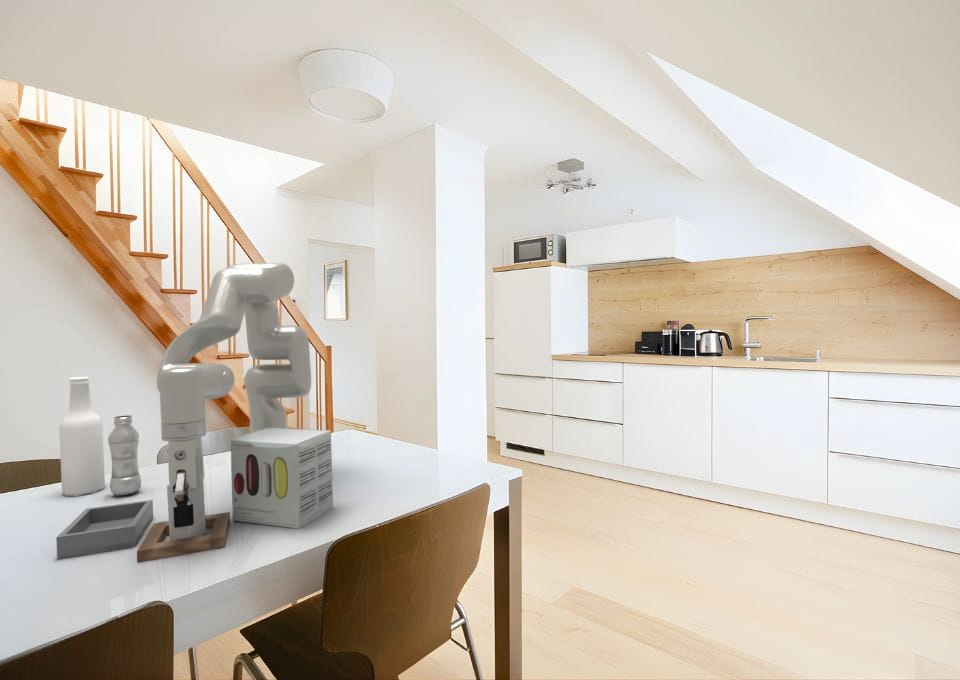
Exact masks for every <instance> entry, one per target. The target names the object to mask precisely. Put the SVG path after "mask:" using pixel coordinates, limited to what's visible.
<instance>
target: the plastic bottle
mask: <svg viewBox="0 0 960 680" xmlns="http://www.w3.org/2000/svg"><path fill="white" fill-rule="evenodd" d="M113 417H114V418H113V425H114V427H113V428H112V430H111V431H110V433H109V435H108V436H107V437H108V438H107V442H108V443H107V444H108V446H109V451H110V457H111V475H110V476H111V478H110V483H109V489H110V492H111V494H113V496H128V495H132V494H134V493H137V492H139V491H140V489H141V487H142V477H141V475H140V470H139V464H138V463H139V462H138V449H139V438H140V434H139V432H138V430H136V429H135V427H134V426H132V423H133V420H132V419H133V418H132V415H117V416H113Z"/></svg>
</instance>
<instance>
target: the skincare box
mask: <svg viewBox="0 0 960 680" xmlns="http://www.w3.org/2000/svg"><path fill="white" fill-rule="evenodd" d="M185 478H186V477H185ZM204 487H205V486H204V481H203V482H202V484H201V486H200V487H199V488H198V489H197V490H195V488H193V489H192V499H191V504H193V512H194V524H193V525H192V526H185V527H179V528H175V527H174V510H173V507H174V493H173V492H171V491H170V486H169V484H168V485H166V495H167V512H168V513H167V515H168V521H169V535H168V536H169V541H172V540H178V539H184V538H191V537H197V536H203V535H205V533H206V532H207V529H206V524H205V516H206V509H205V506H206V505H205V488H204ZM173 488H175V485H174V486H173ZM187 488H189V484H187V485H185V486H184V489H187ZM174 491H175V490H174ZM184 494H186V495H187V496H188V492H187V493H184ZM187 499H188V498H187Z"/></svg>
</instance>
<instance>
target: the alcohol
mask: <svg viewBox="0 0 960 680" xmlns="http://www.w3.org/2000/svg"><path fill="white" fill-rule="evenodd" d="M89 379H90V377H89V376H74V377H70V378H69V379H68V380H69V385H70V387H69V400H68V401H69V405H68V412H67V414H66V415H65V416H64V418H63V419H61V422H60V424H59V427H58V428H59V429H58V430H59V433H58V434H59V451H60V452H59V453H60V472H61V473H60V476H61V492H62V494H63V495H67V496H66V497H76V496H75V495H81V496H83V495H82V494H87V493H91V494H93V493H92V492H95V491H97V492H99V491H98V490H100V491H101V489H102V488H104V487H105V485H106V477H105V474H106V473H105V455H104V454H105V453H104V429H103V428H104V427H103V421H102V418H101V417H100V415H98V414H97V413H96V412H95V411H94V409H93V406H92V405H93V404H92V398H91V392H90V385H89V384H90V381H89ZM102 490H103V489H102ZM95 493H96V492H95ZM87 495H88V494H87Z"/></svg>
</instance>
